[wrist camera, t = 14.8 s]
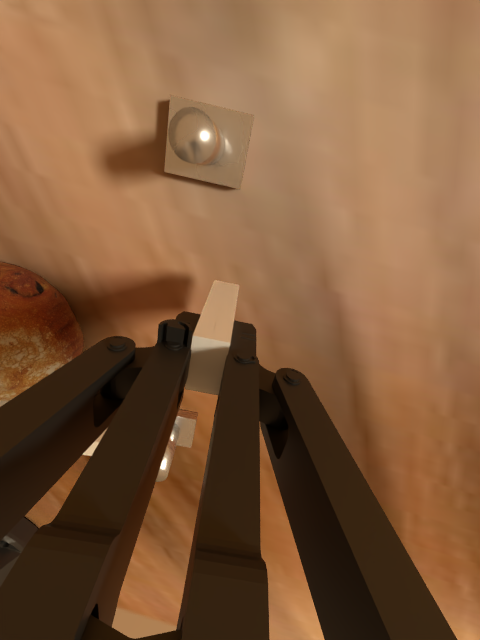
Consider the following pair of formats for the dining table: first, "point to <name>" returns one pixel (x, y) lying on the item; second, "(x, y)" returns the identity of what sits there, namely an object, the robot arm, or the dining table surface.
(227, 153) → the grey small pieces
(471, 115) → the dining table surface
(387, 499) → the dining table surface
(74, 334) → the bread roll
